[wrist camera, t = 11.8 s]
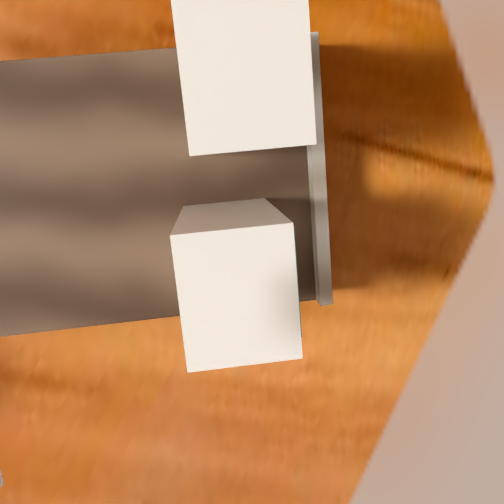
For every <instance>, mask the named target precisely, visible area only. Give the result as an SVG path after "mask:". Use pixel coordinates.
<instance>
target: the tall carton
mask: <svg viewBox="0 0 504 504" xmlns="http://www.w3.org/2000/svg"><path fill="white" fill-rule="evenodd" d="M170 241H171V249H172V256H173V264H174V272H175V279H176V287H177V295H178V303H179V310H180V318H181V326H182V333H183V341H184V349H185V356H186V364H187V372H196V371H204V370H212V369H221V368H229V367H237V366H245V365H253V364H261V363H269V362H277V361H286V360H294V359H302V358H303V357H302V343H301V337H302V333H301V318H300V304H299V289H298V274H297V260H296V245H295V230H294V225H293V222H292V221H291V220H290V219H288V218H287V217H286V216H285V215H284V214H283V213H281V212H280V211H279V210H278V209H277V208H276V207H274V206H273V205H272V204H271V203H270V202H269V201H267V200H266V199H265V198H260V199H250V200H240V201H229V202H219V203H209V204H199V205H189V206H183V208H182V210H181V212H180V215H179V217H178V219H177V221H176V223H175V225H174V227H173V230H172V232H171V234H170Z"/></svg>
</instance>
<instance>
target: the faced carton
mask: <svg viewBox="0 0 504 504" xmlns="http://www.w3.org/2000/svg"><path fill="white" fill-rule="evenodd" d="M171 5H172V14H173V22H174V31H175V39H176V48H177V56H178V64H179V73H180V81H181V90H182V98H183V107H184V115H185V123H186V132H187V140H188V149H189V156H197V155H208V154H219V153H229V152H240V151H251V150H261V149H272V148H283V147H294V146H304V145H315V144H317V143H316V125H315V108H314V90H313V73H312V55H311V38H310V20H309V3H308V0H171Z"/></svg>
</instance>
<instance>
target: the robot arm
mask: <svg viewBox="0 0 504 504" xmlns="http://www.w3.org/2000/svg"><path fill="white" fill-rule="evenodd" d="M2 485H3V479H2V475H1V471H0V488H1V486H2Z"/></svg>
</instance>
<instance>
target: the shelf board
mask: <svg viewBox="0 0 504 504" xmlns="http://www.w3.org/2000/svg"><path fill="white" fill-rule="evenodd" d="M310 38H311V55H312V73H313V90H314V108H315V125H316V143H317V144H315V145H304V146H294V147H283V148H272V149H261V150H251V151H240V152H229V153H219V154H208V155H197V156H189V149H188V140H187V132H186V123H185V115H184V107H183V98H182V90H181V81H180V73H179V64H178V56H177V48H165V49H152V50H139V51H126V52H113V53H100V54H87V55H74V56H61V57H48V58H35V59H22V60H9V61H0V337H2V336H10V335H19V334H28V333H36V332H45V331H53V330H62V329H70V328H79V327H87V326H96V325H105V324H113V323H122V322H130V321H139V320H147V319H156V318H164V317H173V316H180V310H179V303H178V295H177V287H176V279H175V272H174V264H173V256H172V249H171V241H170V234H171V232H172V230H173V227H174V225H175V223H176V221H177V219H178V217H179V215H180V212H181V210H182V208H183V206H189V205H199V204H209V203H219V202H229V201H240V200H250V199H260V198H265V199H266V200H267V201H269V202H270V203H271V204H272V205H273V206H274V207H276V208H277V209H278V210H279V211H280V212H281V213H283V214H284V215H285V216H286V217H287V218H288V219H290V220H291V221H292V222H293V225H294V230H295V245H296V260H297V274H298V289H299V302H301V301H310V300H317V301H318V303H319V304H320V306H323V305H331V304H333V296H332V277H331V258H330V240H329V221H328V202H327V183H326V165H325V146H324V127H323V109H322V90H321V71H320V53H319V34H318V32H310Z"/></svg>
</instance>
